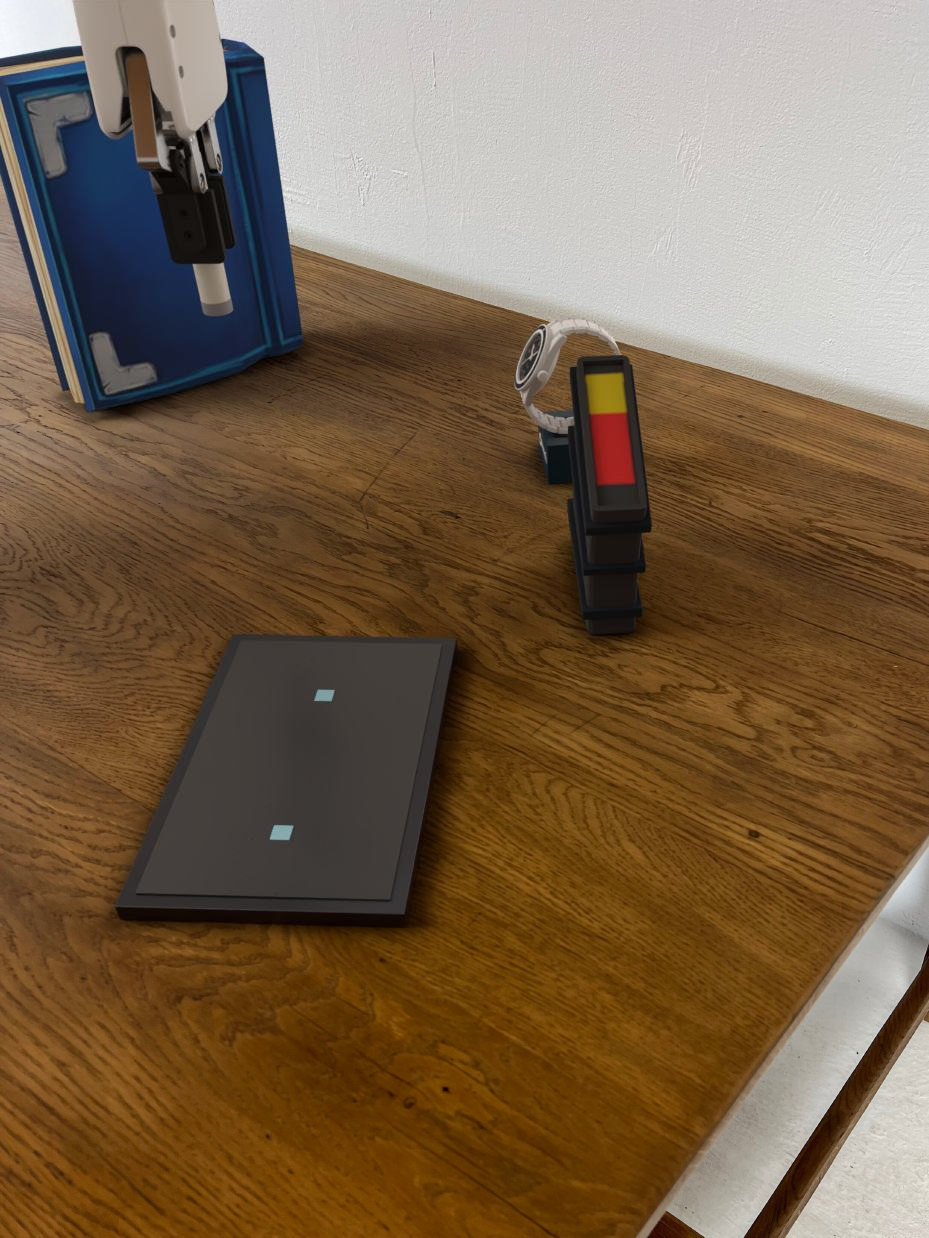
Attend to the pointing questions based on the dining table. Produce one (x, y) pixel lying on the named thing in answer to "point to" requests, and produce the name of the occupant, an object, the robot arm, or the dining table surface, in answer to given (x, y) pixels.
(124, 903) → the tablet
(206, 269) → the stylus
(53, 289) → the book
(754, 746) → the dining table surface
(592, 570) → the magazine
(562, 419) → the watch
